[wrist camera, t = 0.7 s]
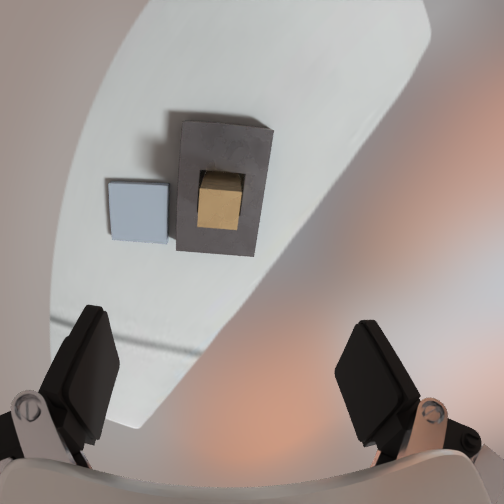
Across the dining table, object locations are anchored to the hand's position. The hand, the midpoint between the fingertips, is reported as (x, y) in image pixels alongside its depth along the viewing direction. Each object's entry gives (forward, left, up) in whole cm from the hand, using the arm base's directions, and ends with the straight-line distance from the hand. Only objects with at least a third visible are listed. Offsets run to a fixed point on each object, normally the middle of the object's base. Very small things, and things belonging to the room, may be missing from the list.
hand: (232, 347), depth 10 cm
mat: (+6, -11, -27) cm, 29 cm away
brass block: (+2, -1, -27) cm, 27 cm away
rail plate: (+2, -1, -27) cm, 27 cm away
